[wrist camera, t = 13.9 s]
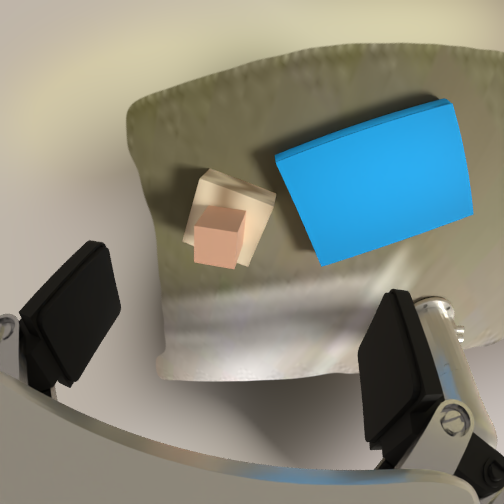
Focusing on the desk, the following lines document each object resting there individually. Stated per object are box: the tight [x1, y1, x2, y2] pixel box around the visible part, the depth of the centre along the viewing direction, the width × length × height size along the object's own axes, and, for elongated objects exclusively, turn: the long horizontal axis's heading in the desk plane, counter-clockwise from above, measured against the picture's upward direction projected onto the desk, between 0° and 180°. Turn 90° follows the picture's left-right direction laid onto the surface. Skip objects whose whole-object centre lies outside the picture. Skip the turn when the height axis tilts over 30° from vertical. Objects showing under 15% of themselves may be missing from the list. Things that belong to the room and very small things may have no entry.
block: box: [194, 205, 246, 269], centre depth 37 cm, size 5×5×6 cm
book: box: [275, 99, 473, 267], centre depth 36 cm, size 17×4×25 cm
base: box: [183, 169, 276, 267], centre depth 42 cm, size 10×10×5 cm
